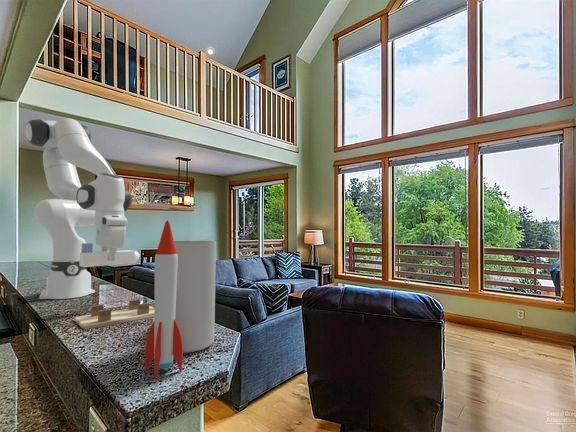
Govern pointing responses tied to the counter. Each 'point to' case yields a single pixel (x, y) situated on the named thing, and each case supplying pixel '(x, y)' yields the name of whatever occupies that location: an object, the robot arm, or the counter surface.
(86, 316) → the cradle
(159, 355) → the toy rocket
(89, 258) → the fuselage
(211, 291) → the cylinder vase
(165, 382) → the counter surface
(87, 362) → the counter surface
